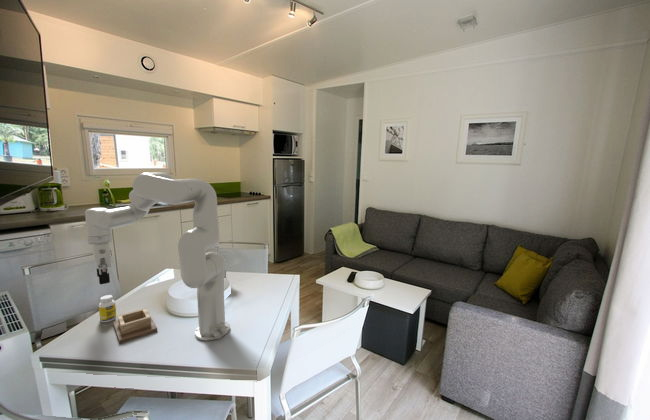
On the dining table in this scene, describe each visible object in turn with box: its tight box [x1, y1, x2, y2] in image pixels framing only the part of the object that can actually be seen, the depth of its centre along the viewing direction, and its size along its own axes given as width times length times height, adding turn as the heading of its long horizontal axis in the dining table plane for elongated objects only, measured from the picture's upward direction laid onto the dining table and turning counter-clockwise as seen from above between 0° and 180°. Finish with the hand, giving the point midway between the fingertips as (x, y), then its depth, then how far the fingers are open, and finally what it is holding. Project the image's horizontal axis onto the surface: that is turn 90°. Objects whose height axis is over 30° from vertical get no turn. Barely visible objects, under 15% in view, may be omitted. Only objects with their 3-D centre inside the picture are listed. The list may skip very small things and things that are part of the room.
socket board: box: [113, 307, 158, 345], centre depth 111 cm, size 16×12×5 cm
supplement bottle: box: [98, 294, 117, 323], centre depth 117 cm, size 5×5×10 cm
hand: (103, 279), depth 115 cm, fingers open, 9 cm apart
